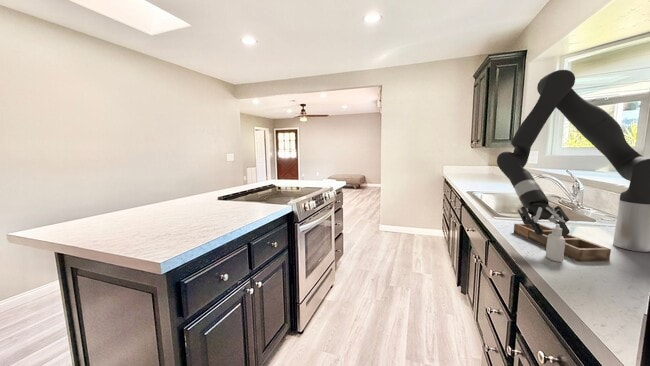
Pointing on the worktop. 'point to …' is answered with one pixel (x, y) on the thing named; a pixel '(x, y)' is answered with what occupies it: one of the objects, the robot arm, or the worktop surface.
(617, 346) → the worktop surface
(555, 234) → the eye dropper bottle
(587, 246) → the walnut rack
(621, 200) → the robot arm
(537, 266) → the worktop surface
